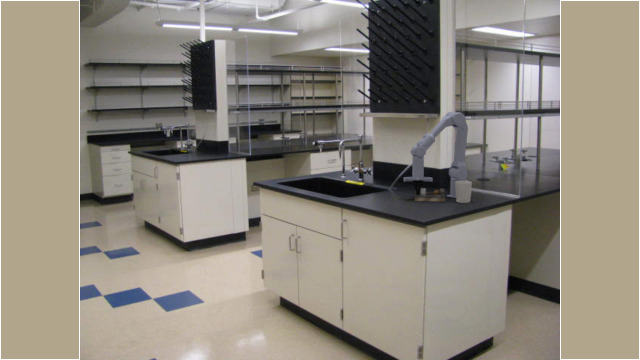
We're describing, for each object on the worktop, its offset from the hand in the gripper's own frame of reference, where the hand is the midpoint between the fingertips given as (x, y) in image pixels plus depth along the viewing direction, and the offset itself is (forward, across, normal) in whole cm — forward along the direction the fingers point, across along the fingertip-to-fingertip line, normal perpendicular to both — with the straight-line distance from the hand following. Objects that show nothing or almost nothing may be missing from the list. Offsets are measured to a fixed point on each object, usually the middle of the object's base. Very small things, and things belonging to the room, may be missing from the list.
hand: (417, 195), depth 262 cm
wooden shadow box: (+2, +6, 0) cm, 6 cm away
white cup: (+2, +22, -5) cm, 23 cm away
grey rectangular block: (0, +3, 0) cm, 3 cm away
